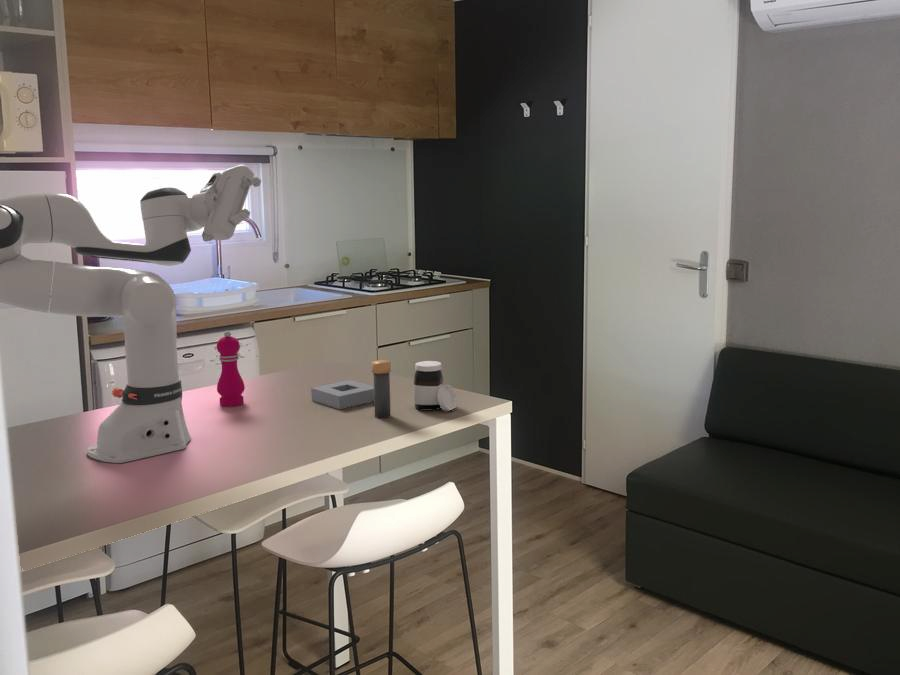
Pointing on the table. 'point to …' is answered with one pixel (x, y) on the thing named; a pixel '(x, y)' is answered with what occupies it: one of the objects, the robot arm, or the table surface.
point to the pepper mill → (229, 372)
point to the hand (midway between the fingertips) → (253, 197)
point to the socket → (343, 394)
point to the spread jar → (432, 387)
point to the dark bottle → (381, 388)
